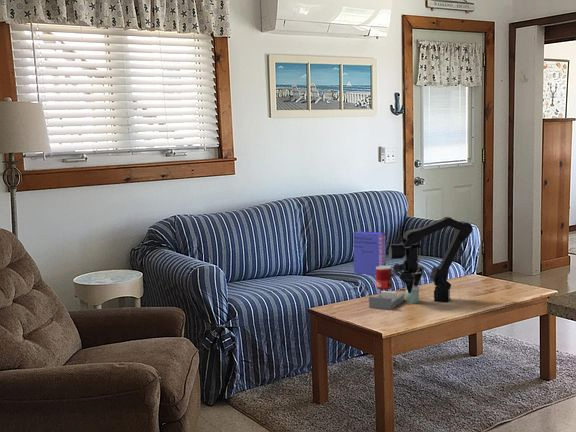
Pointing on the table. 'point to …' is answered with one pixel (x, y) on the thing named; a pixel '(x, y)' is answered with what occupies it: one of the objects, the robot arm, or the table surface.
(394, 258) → the robot arm
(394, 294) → the plate
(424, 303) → the table surface
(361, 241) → the cereal box
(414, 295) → the jar
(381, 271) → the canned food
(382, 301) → the pusher lane
